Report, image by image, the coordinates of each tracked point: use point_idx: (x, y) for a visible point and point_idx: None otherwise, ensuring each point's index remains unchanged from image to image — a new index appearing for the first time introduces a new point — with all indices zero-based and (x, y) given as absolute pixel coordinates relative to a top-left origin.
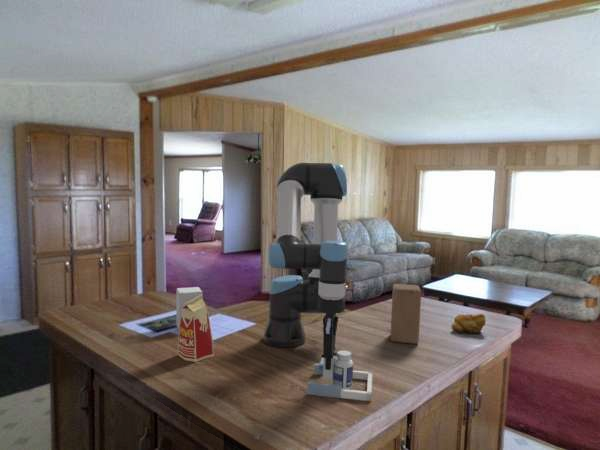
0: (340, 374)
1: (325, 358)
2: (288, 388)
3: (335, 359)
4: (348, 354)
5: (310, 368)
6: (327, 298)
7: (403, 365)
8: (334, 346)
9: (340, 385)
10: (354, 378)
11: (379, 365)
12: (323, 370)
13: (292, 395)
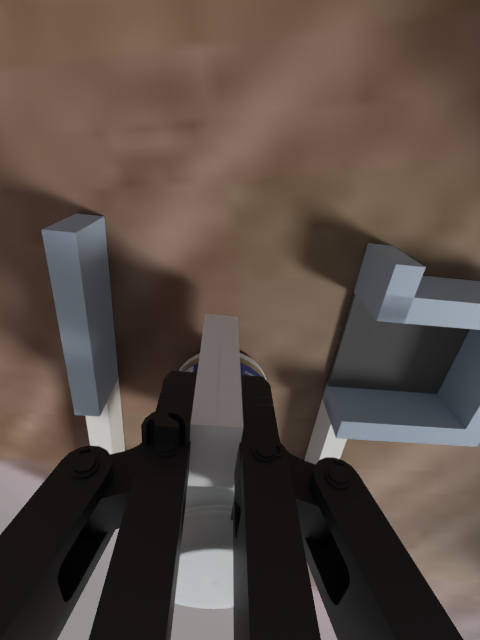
0: None
1: (190, 426)
2: (122, 59)
3: None
4: (183, 600)
5: (472, 211)
6: None
7: (434, 557)
8: (308, 562)
9: (94, 412)
10: (313, 428)
11: (448, 503)
12: (201, 347)
13: (22, 107)
